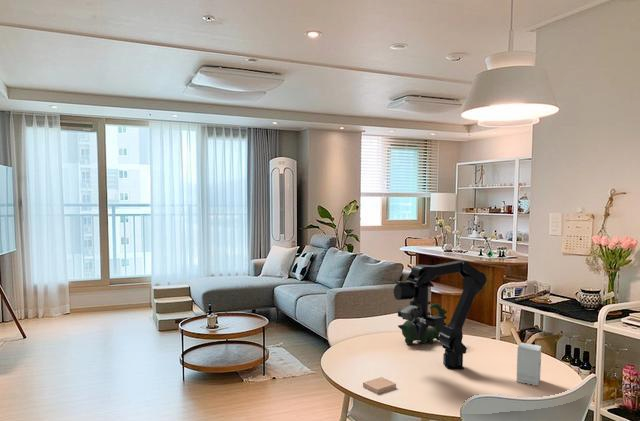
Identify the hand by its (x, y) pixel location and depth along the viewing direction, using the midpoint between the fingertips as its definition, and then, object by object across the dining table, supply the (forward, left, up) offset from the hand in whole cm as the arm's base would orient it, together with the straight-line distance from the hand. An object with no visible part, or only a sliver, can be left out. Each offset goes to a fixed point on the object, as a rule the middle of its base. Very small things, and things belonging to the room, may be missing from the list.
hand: (419, 339), depth 174 cm
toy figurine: (-10, -35, -12) cm, 38 cm away
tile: (+14, +13, -12) cm, 22 cm away
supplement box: (-38, +9, -12) cm, 41 cm away
